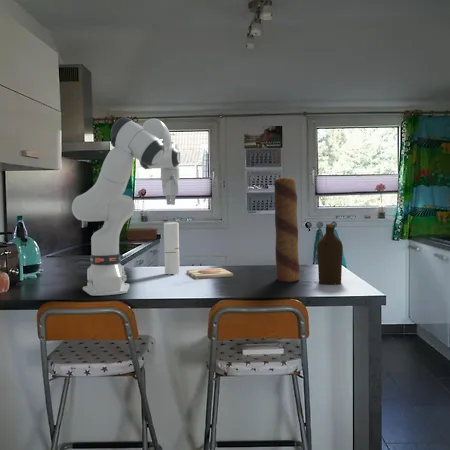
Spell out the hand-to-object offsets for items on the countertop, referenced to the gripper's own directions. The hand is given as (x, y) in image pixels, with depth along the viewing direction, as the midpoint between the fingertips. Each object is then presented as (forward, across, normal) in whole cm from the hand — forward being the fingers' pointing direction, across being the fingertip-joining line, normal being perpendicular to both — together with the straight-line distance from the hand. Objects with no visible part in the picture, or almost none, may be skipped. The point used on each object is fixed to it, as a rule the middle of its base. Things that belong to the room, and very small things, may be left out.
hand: (170, 204), depth 228 cm
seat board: (+34, -10, -16) cm, 39 cm away
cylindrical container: (+34, 0, 0) cm, 34 cm away
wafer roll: (+34, -37, -44) cm, 67 cm away
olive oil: (+34, -50, -58) cm, 84 cm away
